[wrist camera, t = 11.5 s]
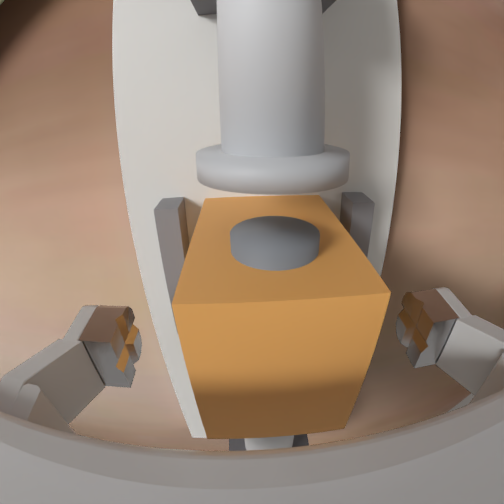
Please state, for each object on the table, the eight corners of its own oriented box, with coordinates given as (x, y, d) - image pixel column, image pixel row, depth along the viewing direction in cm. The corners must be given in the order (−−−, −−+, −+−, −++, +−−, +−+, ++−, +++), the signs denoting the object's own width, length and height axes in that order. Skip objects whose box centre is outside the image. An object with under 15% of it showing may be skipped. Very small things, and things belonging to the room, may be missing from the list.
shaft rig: (332, 418, 19) (348, 486, 14) (193, 426, 19) (187, 496, 14) (375, -60, 6) (444, -117, 1) (128, -60, 6) (69, -126, 1)
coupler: (309, 315, 13) (341, 434, 8) (217, 319, 13) (209, 444, 8) (319, 183, 10) (395, 274, 5) (203, 187, 10) (167, 284, 5)
